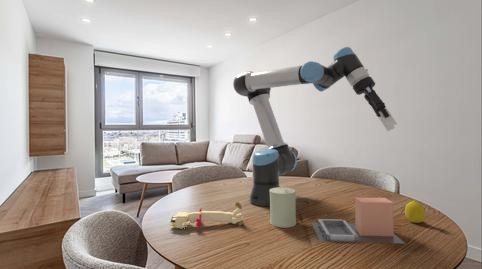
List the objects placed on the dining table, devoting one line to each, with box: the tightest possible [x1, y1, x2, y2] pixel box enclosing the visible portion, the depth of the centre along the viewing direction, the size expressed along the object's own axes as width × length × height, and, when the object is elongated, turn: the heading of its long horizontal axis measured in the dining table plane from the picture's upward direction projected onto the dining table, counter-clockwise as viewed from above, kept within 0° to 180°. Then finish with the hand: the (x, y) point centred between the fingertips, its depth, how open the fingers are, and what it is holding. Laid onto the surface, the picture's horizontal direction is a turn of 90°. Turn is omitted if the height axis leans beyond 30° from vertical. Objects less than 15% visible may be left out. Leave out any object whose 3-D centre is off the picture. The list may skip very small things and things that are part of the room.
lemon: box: [404, 200, 426, 224], centre depth 82 cm, size 6×6×8 cm
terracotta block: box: [354, 197, 395, 236], centre depth 75 cm, size 9×5×10 cm, turn 84°
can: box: [269, 186, 297, 229], centre depth 86 cm, size 9×9×12 cm
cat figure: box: [168, 201, 244, 230], centre depth 86 cm, size 10×9×25 cm
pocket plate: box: [311, 218, 406, 245], centre depth 76 cm, size 23×14×2 cm, turn 84°
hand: (392, 127), depth 91 cm, fingers open, 13 cm apart
